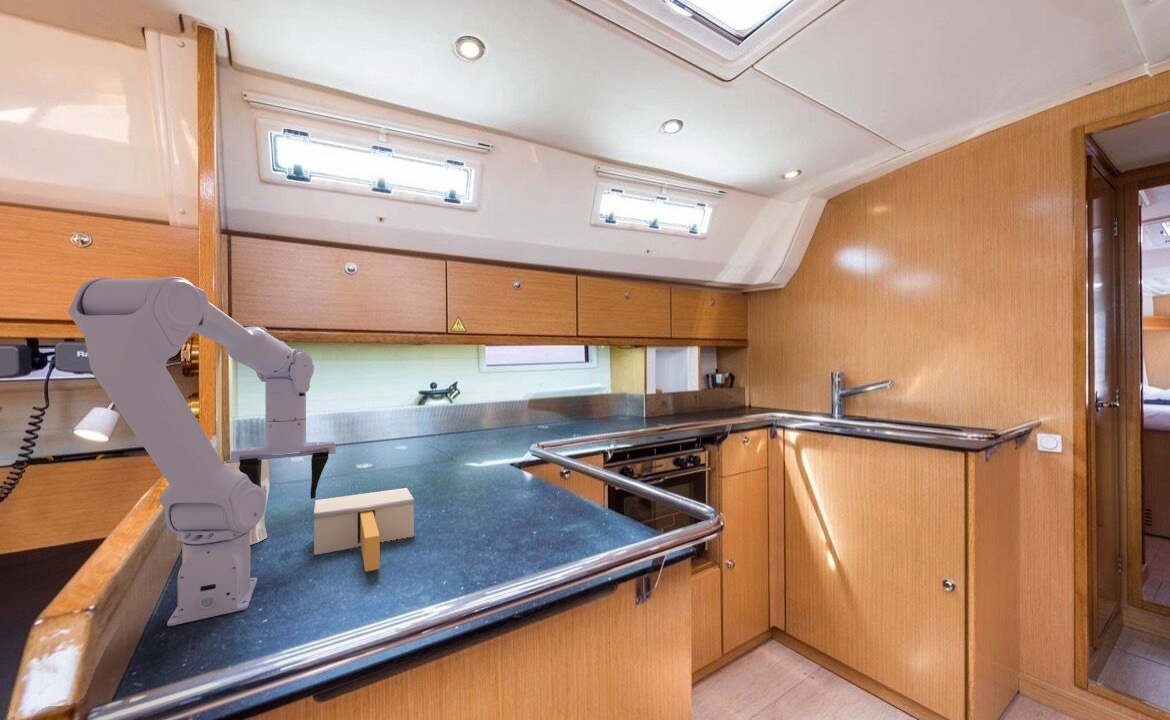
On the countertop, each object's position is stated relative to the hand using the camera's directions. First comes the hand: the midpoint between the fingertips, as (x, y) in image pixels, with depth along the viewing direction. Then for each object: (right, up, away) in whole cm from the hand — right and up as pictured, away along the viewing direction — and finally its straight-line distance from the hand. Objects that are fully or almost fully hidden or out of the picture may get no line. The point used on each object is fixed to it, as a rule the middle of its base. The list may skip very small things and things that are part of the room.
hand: (286, 500), depth 76 cm
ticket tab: (+15, -8, -2) cm, 17 cm away
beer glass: (-12, -10, +7) cm, 17 cm away
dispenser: (+9, -9, +8) cm, 16 cm away
